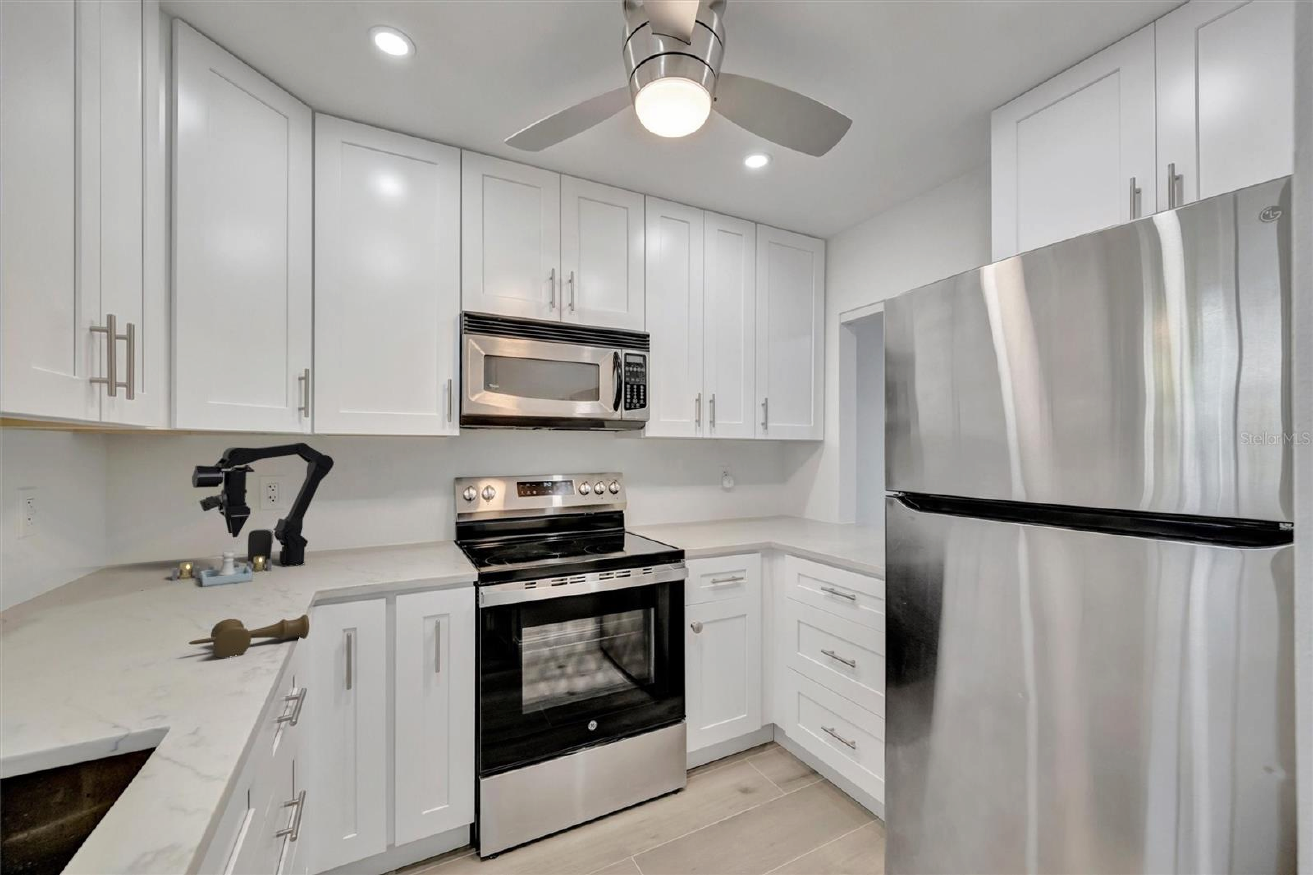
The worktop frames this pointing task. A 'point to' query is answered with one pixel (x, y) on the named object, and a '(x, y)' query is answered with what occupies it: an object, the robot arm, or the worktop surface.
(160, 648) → the worktop surface
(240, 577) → the tray
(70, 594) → the worktop surface
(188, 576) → the brass peg
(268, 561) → the grey small pieces
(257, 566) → the brass peg
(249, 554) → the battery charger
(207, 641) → the kendama
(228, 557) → the rook chess piece
